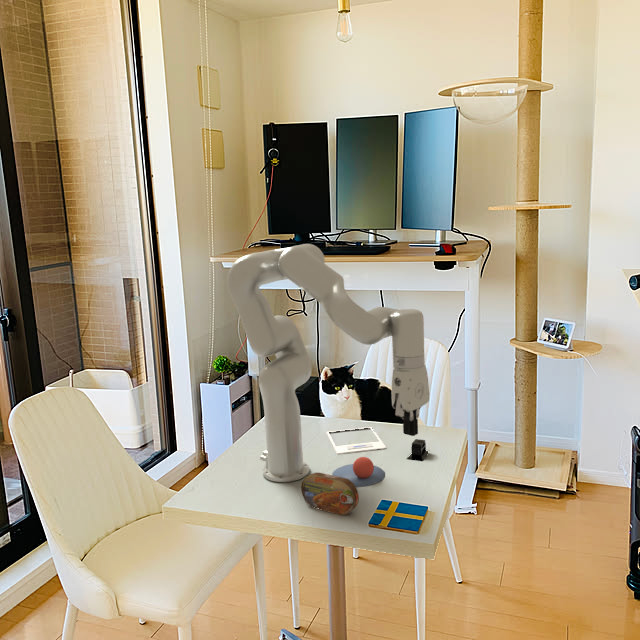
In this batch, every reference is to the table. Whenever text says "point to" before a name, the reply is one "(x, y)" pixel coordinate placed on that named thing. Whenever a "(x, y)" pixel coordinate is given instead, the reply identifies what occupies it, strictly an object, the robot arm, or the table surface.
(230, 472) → the table surface
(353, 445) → the photo frame
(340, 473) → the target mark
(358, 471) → the ball
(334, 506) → the tin
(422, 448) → the black block
